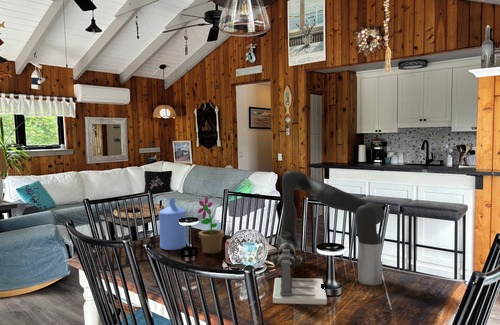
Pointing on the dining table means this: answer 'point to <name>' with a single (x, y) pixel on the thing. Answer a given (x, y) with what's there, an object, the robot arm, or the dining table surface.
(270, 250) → the washcloth
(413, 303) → the dining table surface
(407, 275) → the dining table surface
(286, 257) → the middle lever
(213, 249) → the flowerpot
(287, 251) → the lever
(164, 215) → the water jug
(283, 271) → the near lever
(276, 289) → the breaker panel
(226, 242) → the soda can
